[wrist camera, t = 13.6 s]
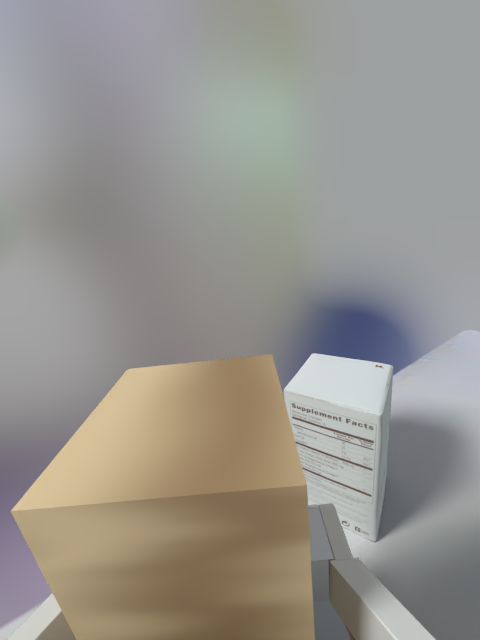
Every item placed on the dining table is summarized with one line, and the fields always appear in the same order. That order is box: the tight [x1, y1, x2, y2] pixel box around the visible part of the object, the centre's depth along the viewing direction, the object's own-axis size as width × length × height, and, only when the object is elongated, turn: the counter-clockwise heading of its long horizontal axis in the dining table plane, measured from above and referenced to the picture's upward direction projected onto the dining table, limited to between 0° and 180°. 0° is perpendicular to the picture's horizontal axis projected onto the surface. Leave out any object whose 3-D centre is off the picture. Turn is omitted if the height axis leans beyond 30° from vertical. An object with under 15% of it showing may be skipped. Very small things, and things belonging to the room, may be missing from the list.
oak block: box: [11, 354, 315, 640], centre depth 9 cm, size 5×5×12 cm
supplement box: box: [284, 354, 393, 542], centre depth 24 cm, size 7×7×13 cm
